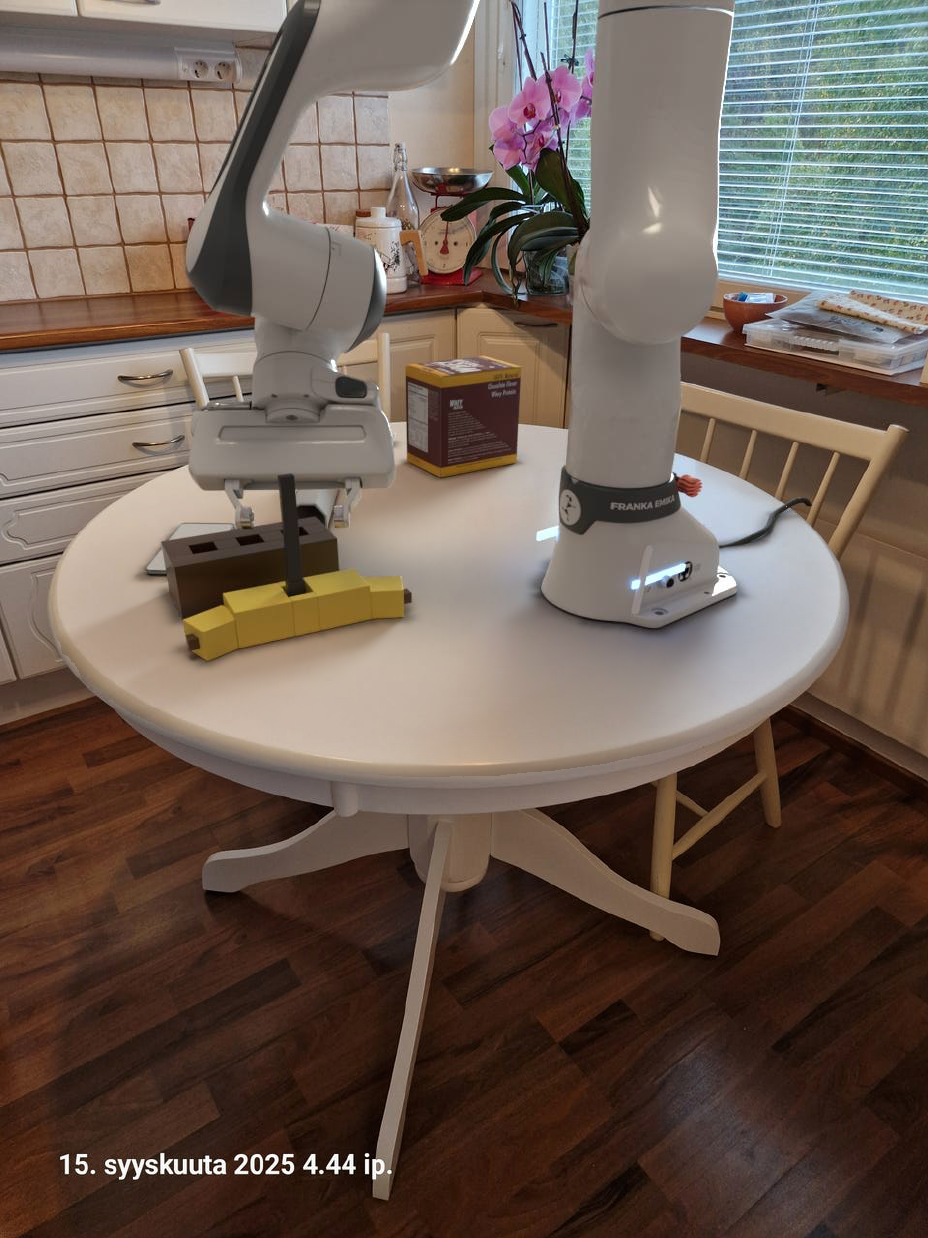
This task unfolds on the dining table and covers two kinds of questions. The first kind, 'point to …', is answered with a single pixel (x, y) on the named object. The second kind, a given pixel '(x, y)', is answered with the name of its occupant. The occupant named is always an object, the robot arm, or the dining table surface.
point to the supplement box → (462, 414)
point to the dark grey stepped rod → (291, 535)
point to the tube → (316, 504)
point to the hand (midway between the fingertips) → (293, 526)
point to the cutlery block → (241, 562)
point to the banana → (293, 611)
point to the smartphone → (184, 531)
